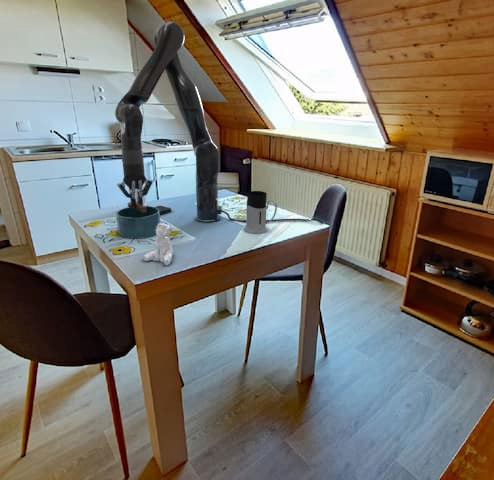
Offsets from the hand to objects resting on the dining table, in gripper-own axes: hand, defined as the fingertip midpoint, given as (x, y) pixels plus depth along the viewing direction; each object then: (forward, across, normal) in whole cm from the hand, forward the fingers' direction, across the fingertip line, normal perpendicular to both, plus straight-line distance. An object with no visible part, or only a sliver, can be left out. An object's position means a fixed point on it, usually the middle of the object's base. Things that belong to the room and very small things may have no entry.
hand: (137, 206), depth 133 cm
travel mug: (+10, +39, -28) cm, 49 cm away
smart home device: (+10, +12, +17) cm, 23 cm away
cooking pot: (+10, 0, 0) cm, 10 cm away
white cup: (+10, +12, +31) cm, 35 cm away
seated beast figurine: (+10, -4, -29) cm, 31 cm away
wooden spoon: (+1, 0, -1) cm, 1 cm away
